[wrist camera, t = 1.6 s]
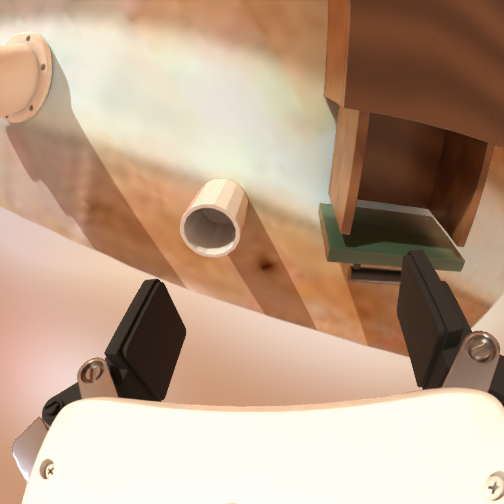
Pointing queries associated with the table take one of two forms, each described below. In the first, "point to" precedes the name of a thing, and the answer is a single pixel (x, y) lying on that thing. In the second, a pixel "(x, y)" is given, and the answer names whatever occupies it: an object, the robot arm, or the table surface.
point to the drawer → (400, 193)
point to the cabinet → (420, 62)
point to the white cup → (215, 218)
